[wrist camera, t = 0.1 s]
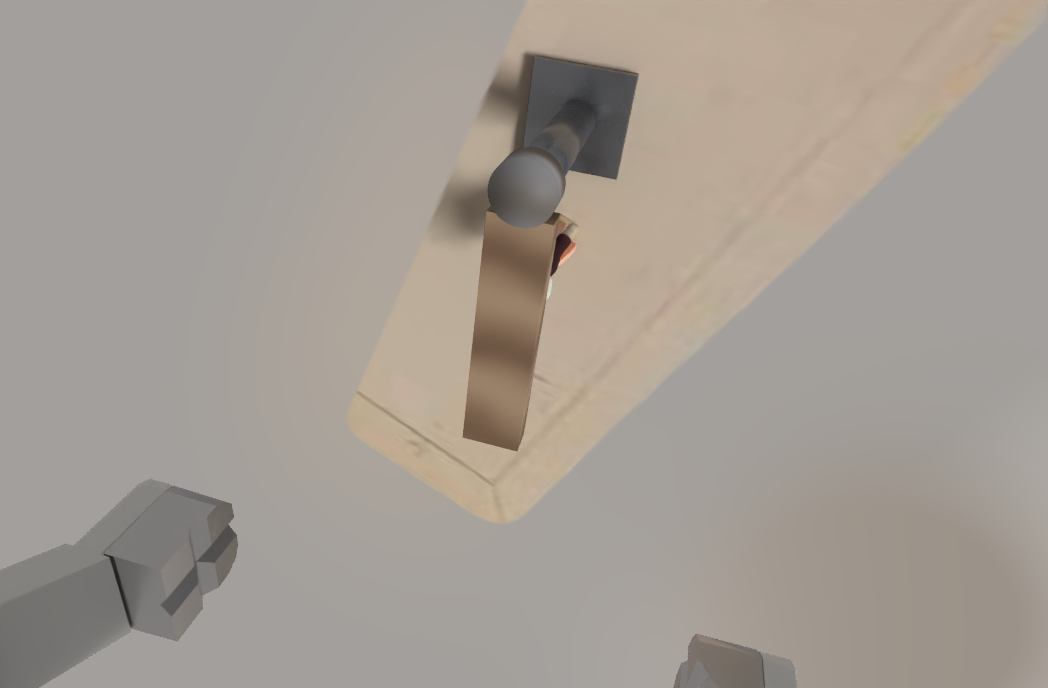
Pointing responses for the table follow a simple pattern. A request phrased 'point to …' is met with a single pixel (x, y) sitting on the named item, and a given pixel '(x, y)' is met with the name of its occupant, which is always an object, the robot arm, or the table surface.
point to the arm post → (580, 114)
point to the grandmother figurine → (563, 245)
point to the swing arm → (512, 294)
